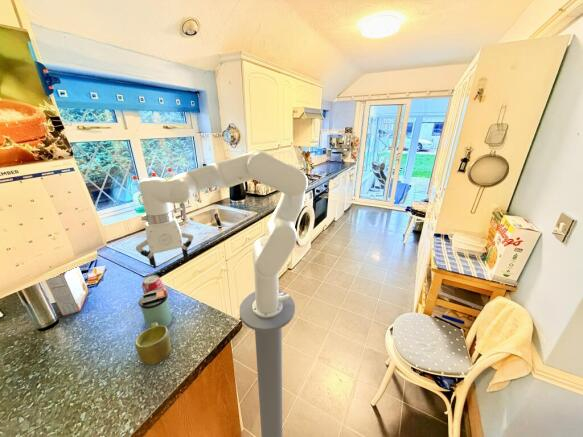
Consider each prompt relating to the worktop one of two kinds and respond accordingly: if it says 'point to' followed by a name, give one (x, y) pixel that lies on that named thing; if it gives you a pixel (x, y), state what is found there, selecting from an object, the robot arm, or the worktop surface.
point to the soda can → (151, 283)
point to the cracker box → (68, 291)
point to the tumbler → (155, 309)
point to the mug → (153, 344)
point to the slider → (161, 293)
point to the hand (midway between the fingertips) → (170, 262)
